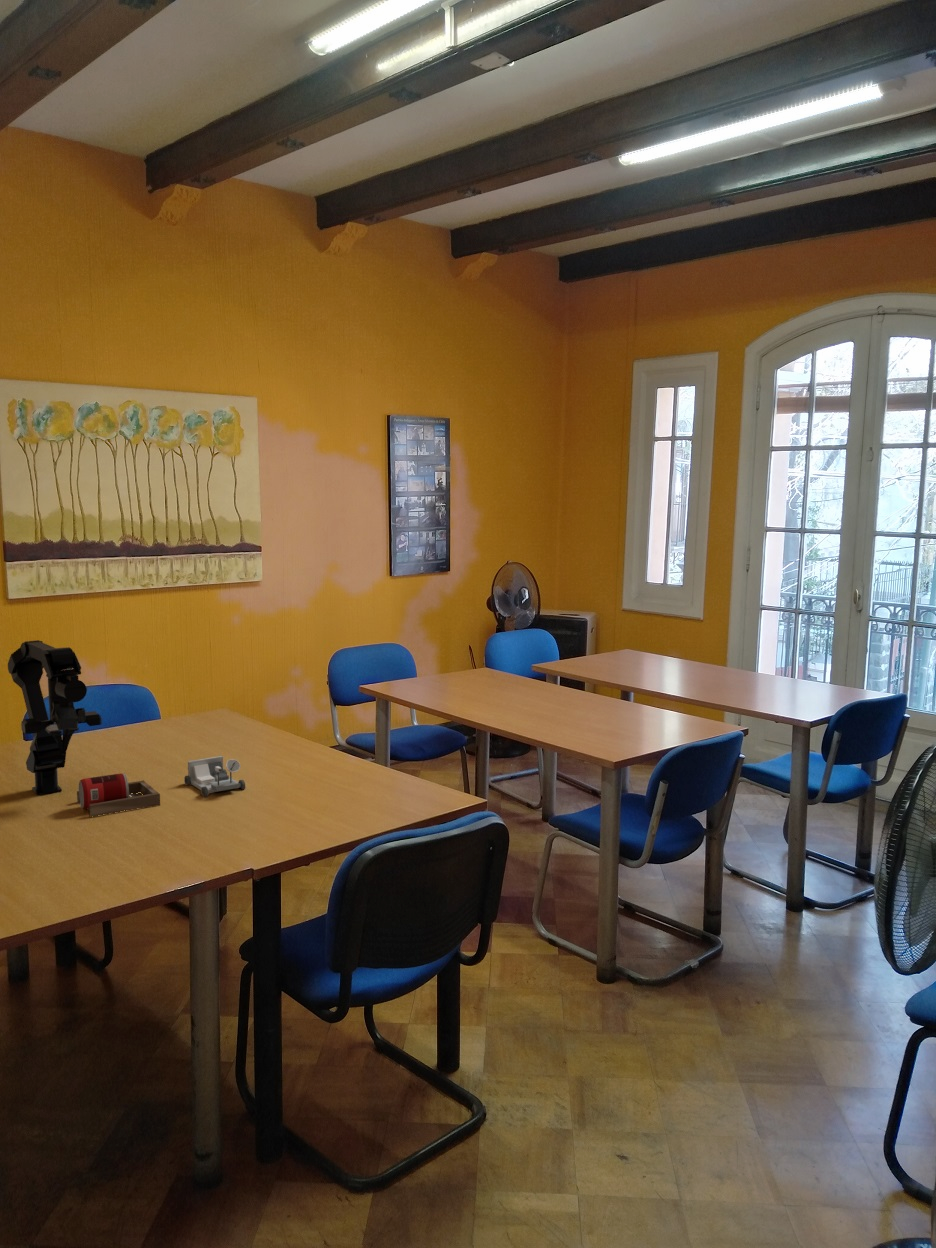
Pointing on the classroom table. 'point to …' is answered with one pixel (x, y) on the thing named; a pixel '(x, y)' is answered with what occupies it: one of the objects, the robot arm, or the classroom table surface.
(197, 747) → the classroom table surface
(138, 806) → the cradle
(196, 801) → the classroom table surface
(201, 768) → the toy car
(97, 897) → the classroom table surface
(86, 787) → the canned food
